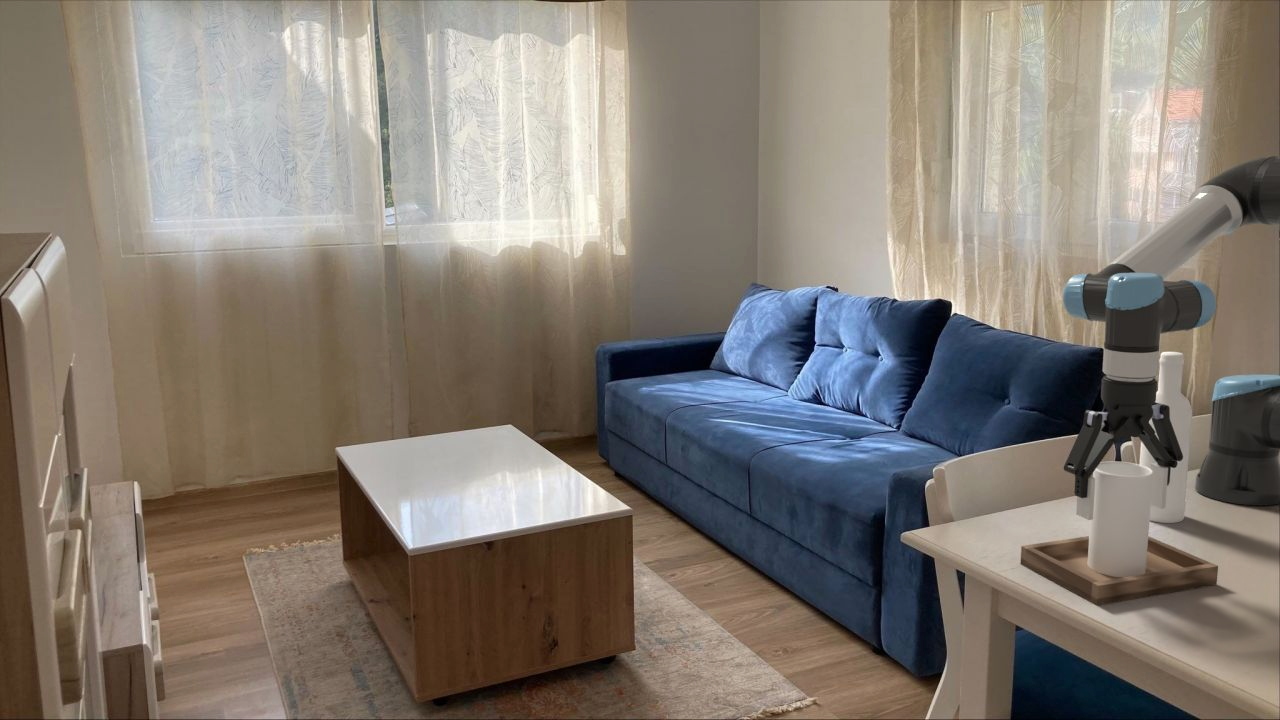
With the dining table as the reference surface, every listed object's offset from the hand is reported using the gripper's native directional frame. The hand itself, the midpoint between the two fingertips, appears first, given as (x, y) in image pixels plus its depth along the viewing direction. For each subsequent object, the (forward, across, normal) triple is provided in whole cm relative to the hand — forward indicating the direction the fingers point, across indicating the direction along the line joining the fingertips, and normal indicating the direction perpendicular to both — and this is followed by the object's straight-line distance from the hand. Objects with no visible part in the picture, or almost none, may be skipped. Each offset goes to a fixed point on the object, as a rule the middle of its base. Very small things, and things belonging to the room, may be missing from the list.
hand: (1121, 511), depth 157 cm
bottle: (+11, -27, -19) cm, 34 cm away
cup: (+9, 0, 0) cm, 9 cm away
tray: (+10, 0, 0) cm, 10 cm away
